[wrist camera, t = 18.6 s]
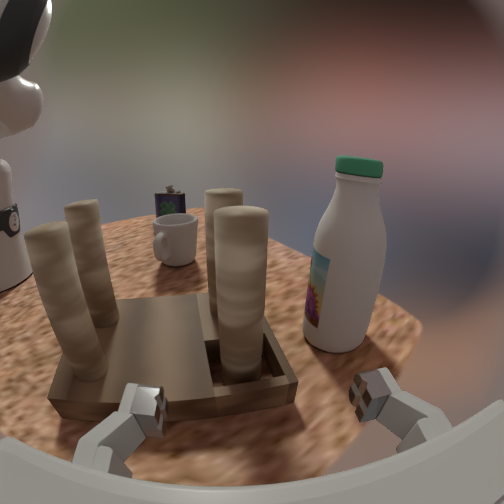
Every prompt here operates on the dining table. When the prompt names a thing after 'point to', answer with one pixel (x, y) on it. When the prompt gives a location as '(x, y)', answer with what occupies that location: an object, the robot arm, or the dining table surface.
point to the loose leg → (240, 289)
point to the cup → (175, 239)
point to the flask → (169, 202)
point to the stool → (138, 328)
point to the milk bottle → (346, 259)
